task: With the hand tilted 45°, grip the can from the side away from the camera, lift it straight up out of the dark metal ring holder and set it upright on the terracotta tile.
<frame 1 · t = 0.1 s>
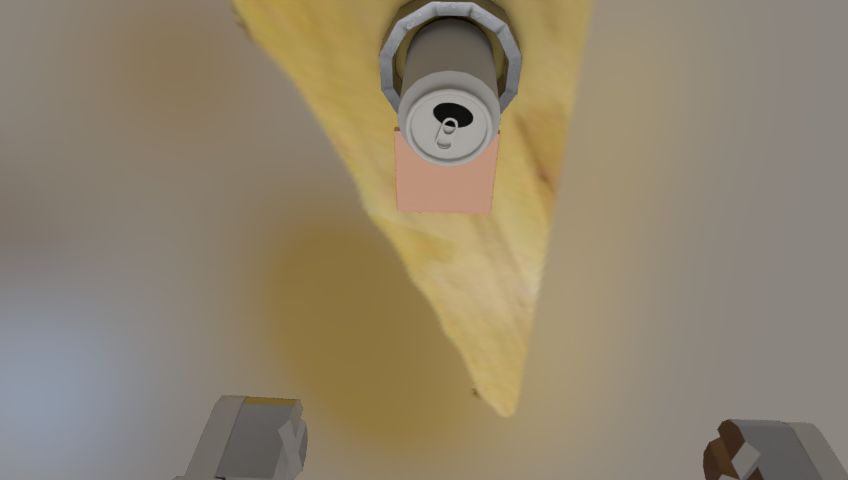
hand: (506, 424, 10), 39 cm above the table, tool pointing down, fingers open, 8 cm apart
can: (449, 57, 45), resting in ring holder
tile: (445, 171, 54), on the table
ring holder: (449, 58, 45), on the table
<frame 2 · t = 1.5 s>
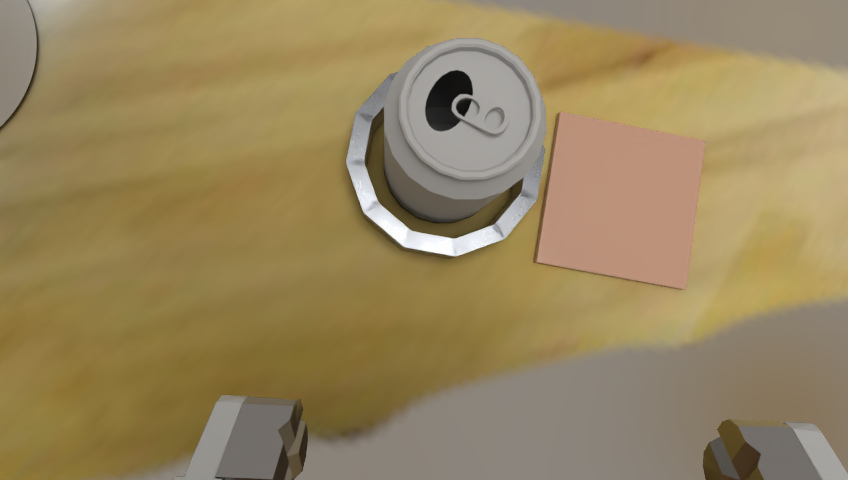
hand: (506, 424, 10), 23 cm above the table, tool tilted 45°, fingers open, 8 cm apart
can: (441, 168, 34), resting in ring holder
tile: (618, 201, 35), on the table
ring holder: (441, 167, 34), on the table
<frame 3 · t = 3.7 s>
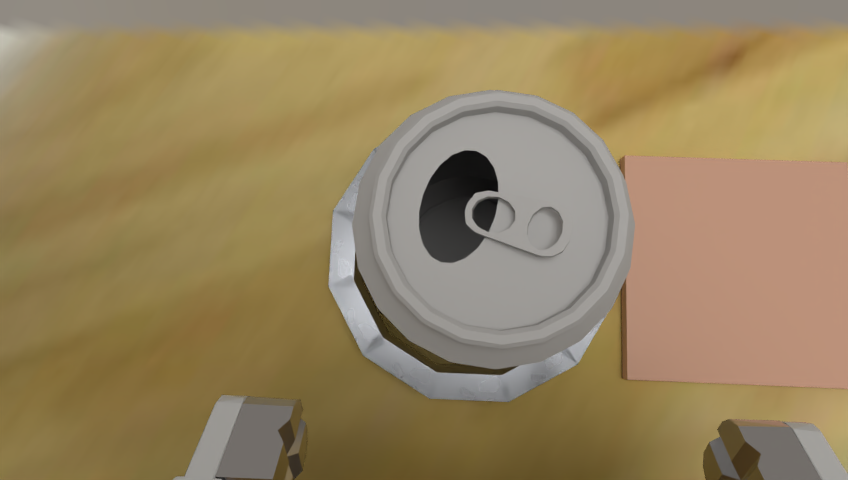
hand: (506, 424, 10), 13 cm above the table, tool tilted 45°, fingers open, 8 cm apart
can: (467, 260, 24), resting in ring holder
tile: (732, 269, 24), on the table
ring holder: (467, 260, 24), on the table
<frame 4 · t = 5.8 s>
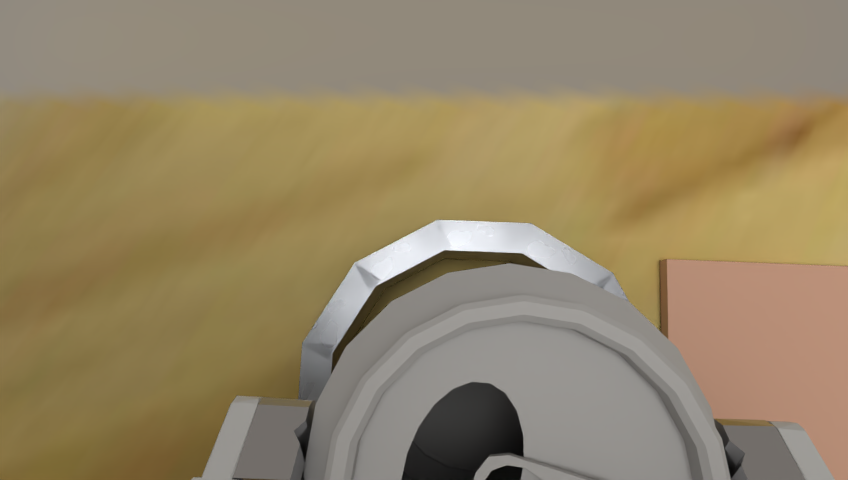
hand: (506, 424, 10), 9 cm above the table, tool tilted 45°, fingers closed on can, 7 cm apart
can: (472, 386, 20), resting in ring holder, touching gripper
tile: (800, 401, 19), on the table
ring holder: (472, 386, 19), on the table
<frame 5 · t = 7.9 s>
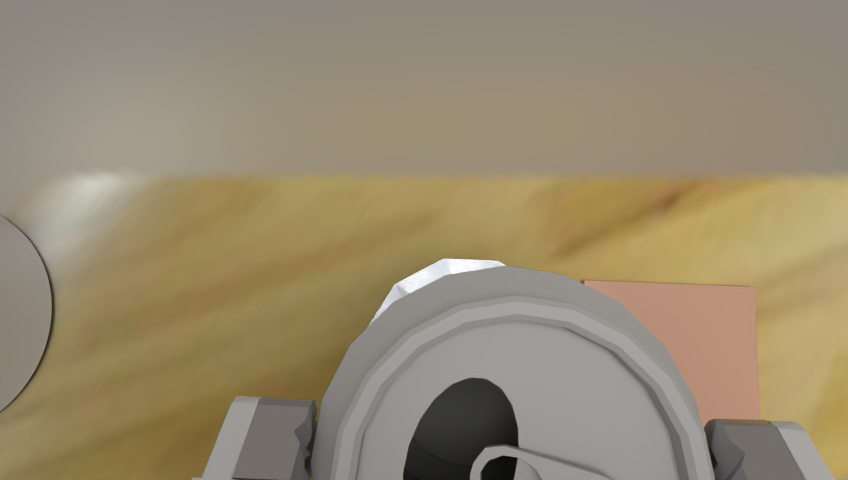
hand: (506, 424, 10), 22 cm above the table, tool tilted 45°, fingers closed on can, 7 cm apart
can: (471, 384, 20), point 12 cm above the table, touching gripper
tile: (666, 367, 31), on the table
ring holder: (465, 358, 32), on the table
when the fingers open (14 cm above the table, at t = 10.2 s): can drops 2 cm, resting on tile.
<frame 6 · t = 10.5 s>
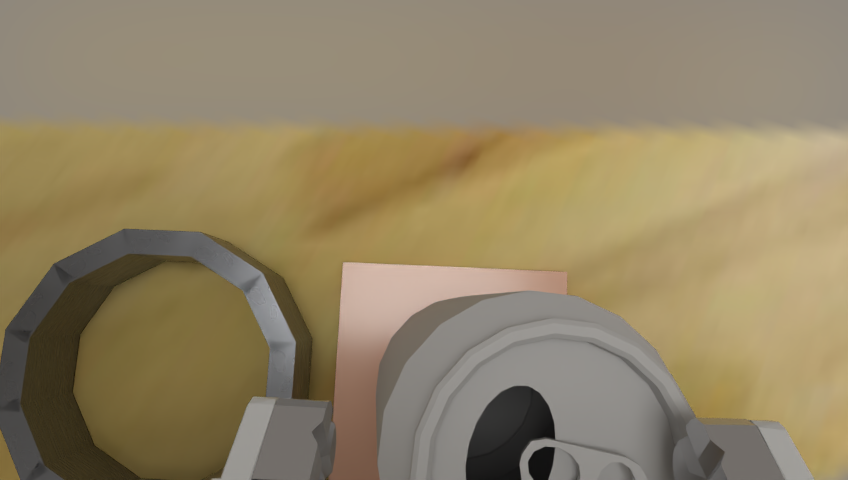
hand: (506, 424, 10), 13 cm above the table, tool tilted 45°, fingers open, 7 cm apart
can: (463, 384, 22), point 1 cm above the table, touching gripper, tile
tile: (450, 380, 23), on the table
ring holder: (181, 367, 23), on the table
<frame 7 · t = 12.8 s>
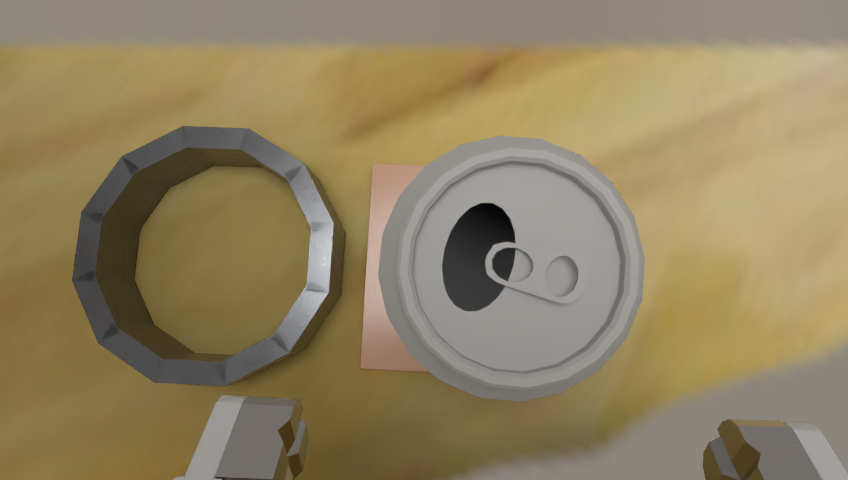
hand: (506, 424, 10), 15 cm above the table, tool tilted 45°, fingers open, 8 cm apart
can: (480, 269, 25), point 1 cm above the table, touching tile
tile: (468, 268, 26), on the table
ring holder: (229, 258, 26), on the table
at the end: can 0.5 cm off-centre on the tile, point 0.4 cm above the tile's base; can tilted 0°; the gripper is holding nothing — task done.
